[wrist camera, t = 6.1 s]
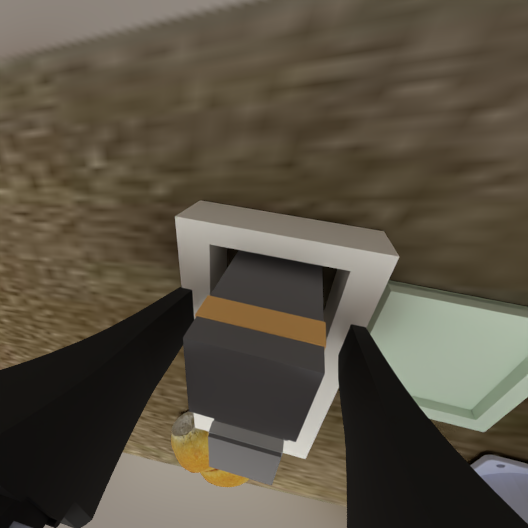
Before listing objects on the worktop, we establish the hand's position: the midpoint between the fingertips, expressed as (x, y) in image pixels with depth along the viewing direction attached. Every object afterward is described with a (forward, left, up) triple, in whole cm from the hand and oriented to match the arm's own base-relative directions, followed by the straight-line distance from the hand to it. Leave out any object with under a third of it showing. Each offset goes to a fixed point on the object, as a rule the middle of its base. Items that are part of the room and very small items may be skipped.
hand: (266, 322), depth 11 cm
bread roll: (+3, +20, -4) cm, 20 cm away
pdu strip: (0, +5, -3) cm, 6 cm away
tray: (-10, +3, -3) cm, 11 cm away
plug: (0, 0, -3) cm, 3 cm away
